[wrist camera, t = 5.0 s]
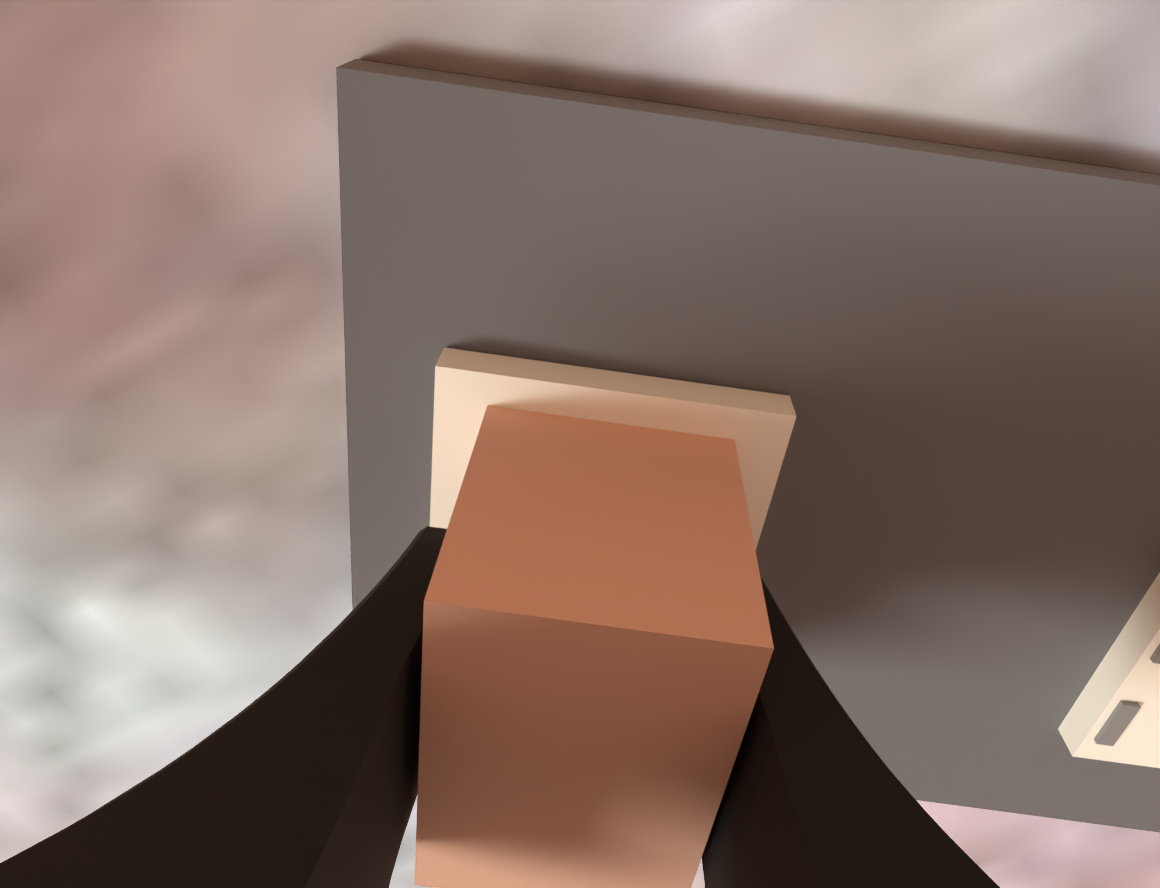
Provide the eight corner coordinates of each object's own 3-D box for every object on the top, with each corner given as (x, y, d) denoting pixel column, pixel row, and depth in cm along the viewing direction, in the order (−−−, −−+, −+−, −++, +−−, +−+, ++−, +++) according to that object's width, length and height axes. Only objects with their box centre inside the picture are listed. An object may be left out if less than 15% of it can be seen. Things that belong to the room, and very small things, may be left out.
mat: (2080, 306, 11) (2175, 331, 10) (1460, 839, 17) (1493, 876, 17) (355, 59, 11) (336, 68, 10) (367, 693, 17) (356, 725, 16)
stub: (789, 395, 12) (863, 621, 8) (704, 683, 15) (727, 946, 11) (444, 347, 12) (347, 552, 8) (432, 646, 15) (358, 898, 11)
